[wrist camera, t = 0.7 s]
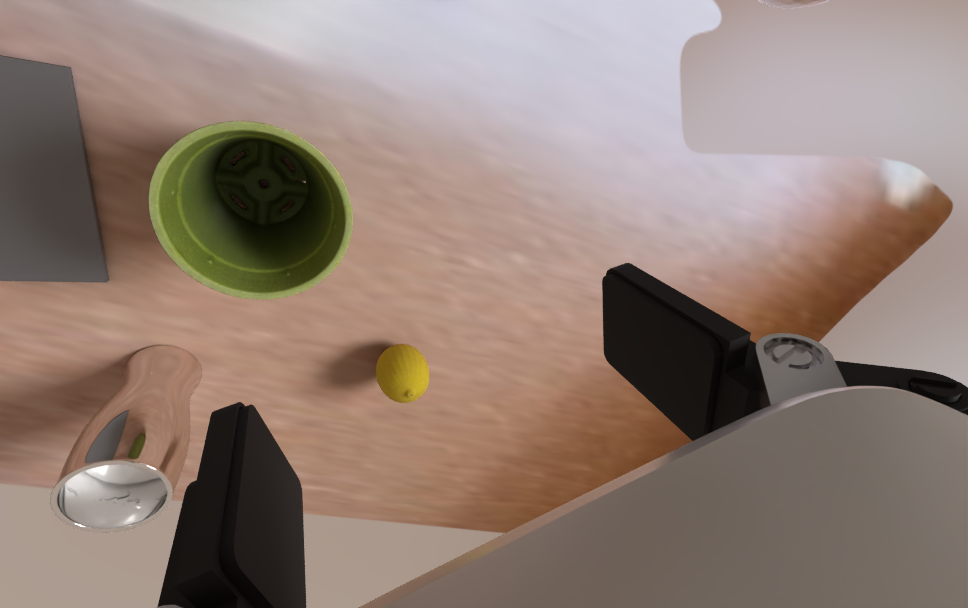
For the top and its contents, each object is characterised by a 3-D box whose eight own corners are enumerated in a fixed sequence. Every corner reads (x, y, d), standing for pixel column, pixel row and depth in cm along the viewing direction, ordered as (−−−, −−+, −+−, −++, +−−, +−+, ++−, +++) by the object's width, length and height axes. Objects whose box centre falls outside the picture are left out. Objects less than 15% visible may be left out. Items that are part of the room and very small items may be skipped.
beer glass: (213, 395, 45) (185, 519, 32) (129, 406, 42) (64, 546, 30) (200, 336, 42) (164, 449, 29) (109, 344, 39) (28, 472, 27)
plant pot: (310, 264, 42) (316, 319, 33) (165, 216, 36) (124, 266, 27) (358, 150, 39) (380, 175, 30) (210, 76, 33) (181, 80, 24)
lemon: (374, 377, 51) (387, 423, 44) (367, 337, 48) (379, 380, 42) (420, 366, 53) (439, 408, 46) (416, 326, 50) (435, 366, 43)
